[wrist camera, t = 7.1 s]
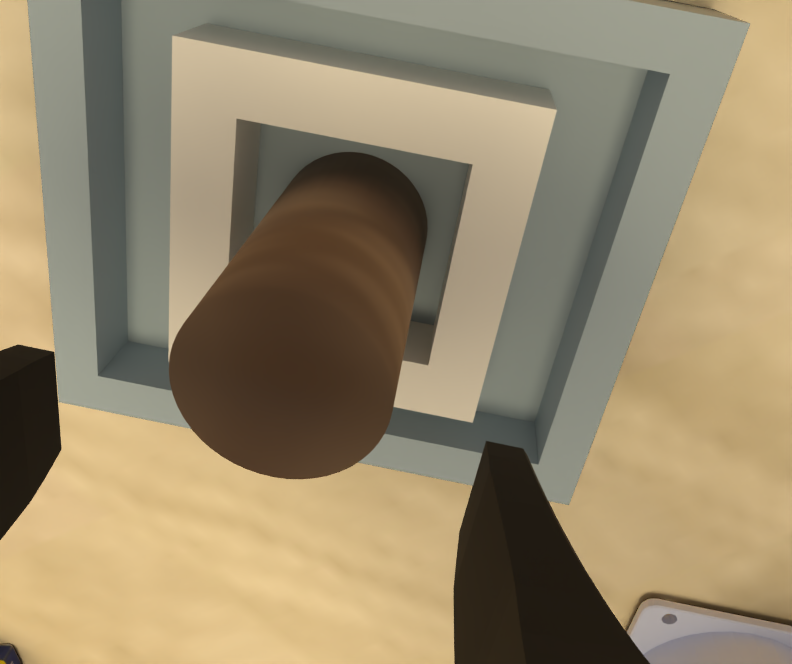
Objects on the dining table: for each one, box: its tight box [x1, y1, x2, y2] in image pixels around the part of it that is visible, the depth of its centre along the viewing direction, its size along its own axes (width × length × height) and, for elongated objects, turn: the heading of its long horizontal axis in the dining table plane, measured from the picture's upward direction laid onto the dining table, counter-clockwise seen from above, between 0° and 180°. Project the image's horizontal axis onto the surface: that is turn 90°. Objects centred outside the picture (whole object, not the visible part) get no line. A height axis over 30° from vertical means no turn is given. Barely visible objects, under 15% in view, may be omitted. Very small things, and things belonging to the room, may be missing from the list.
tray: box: [27, 0, 750, 505], centre depth 19 cm, size 15×13×3 cm
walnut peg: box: [169, 152, 428, 479], centre depth 16 cm, size 4×4×8 cm
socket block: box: [168, 23, 557, 423], centre depth 19 cm, size 8×8×2 cm
